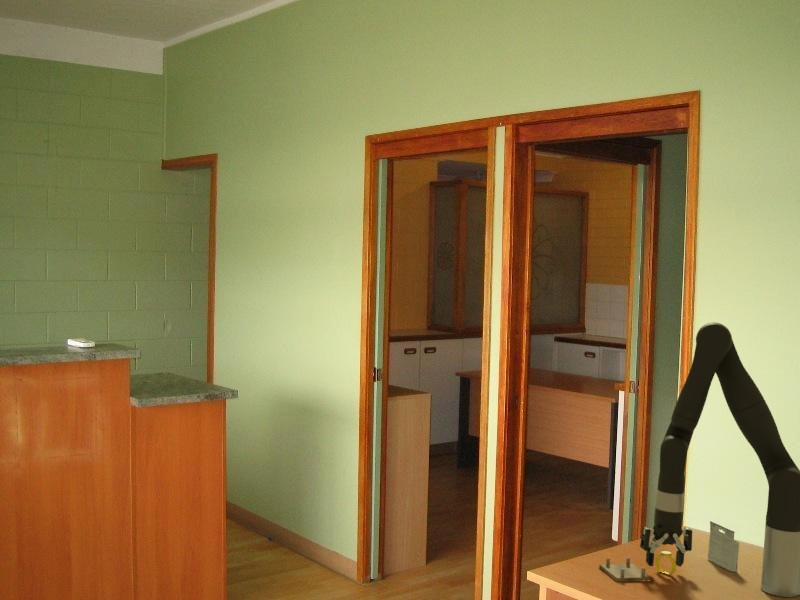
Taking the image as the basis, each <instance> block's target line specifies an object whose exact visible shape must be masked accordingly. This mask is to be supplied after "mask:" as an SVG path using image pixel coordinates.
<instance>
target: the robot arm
mask: <svg viewBox="0 0 800 600" xmlns="http://www.w3.org/2000/svg"><path fill="white" fill-rule="evenodd" d="M694 349H695V350H694V353H693V354H694V355H693V359H692V362H691V366H690V370H689V372H688V374H687V377H686V379H685V382H684V384H683V386H682V388H681V391H680V393H679V396H678V398H677V400H676V403H675V406H674V409H673V412H672V415H671V418H670V423H669V425H668V427H667V429H666V432H665V435H664V437H663V440H662V442H661V444H660V449H659V450H660V451H659V473H658V479H657V480H658V482H657V491H656V495H655V503H654V504H655V506H654V517H653V527H652V528H650V527H646V526H643V527H642V529H641V537H640V544H639V546H640V547H639V548H641V549H642V550H643V551H645V552H646V555H645V562H646V563H647V566H649V567H654V560H655V551H656V550H657V549H658V548H660V547H661V546H663V545H664V546H666V545H671V546H673V545H674V546H675V547H676V549H677V551H676V553H675V561H676V567H682V566H683V565H684V563H685V553H686V552H691V551H692V550H693V549H692V548H693V530H692V529H690V528H689V527H687V526H685V527H684V528H682V526H683V523H684V522H683V520H684V519H683V518H684V509H685V488H686V487H685V484H686V474H685V472H686V470H685V469H686V462H687V455H688V451H689V448H690V444H691V441H692V438H693V434H694V432H695V429H696V428H697V426H698V423H699V420H700V419H701V416H702V413H703V410H704V407H705V404H706V401H707V398H708V396H709V395H708V394H709V391H710V389H711V388H710V387H711V385H712V382H713V380H714V378H715V377H714V376H715V374H716V376H717V378H718V381H719V384H720V387H721V390H722V393H723V396H724V399H725V401H726V404H727V406H728V409H729V411H730V413H731V415H732V417H733V420H734V421H735V422H736V425H737V427H738V429H739V431H740V432H741V433H742V435H743V436H744V438H745V440H746V441H747V442H748V443H749V445H750V446H751V448H752V449H753V451H754V452H755V453H756V454H755V455H757V457H758V459H759V462H760V464H761V466H762V469H763V472H764V474H765V477H766V480H767V485H768V495H767V508H766V509H767V510H766V513H765V514H766V515H765V524H764V525H765V526H764V543H763V555H762V566H761V567H762V569H761V583H760V589H761V590H762V591H763V592H765V593H767V594H770V595H772V596H777V597H782V598H783V597H784V598H794V597H797V596H800V469H799V467H798V466H797V464H796V463H795V461H794V460H793V458H792V457H791V455H790V454H789V452H788V451H787V449H786V447H785V444H784V443H783V441H782V437H781V435H780V432H779V430H778V426H777V424H776V420H775V418H774V417H773V414H772V412H771V410H770V408H769V406H768V404H767V401H766V399H765V398H764V396H763V394H762V392H761V391H760V389H759V387H758V386H757V385H756V383H755V381H754V380H753V379H752V376H750V374H749V372H748V371H747V370H746V368H745V366H744V365H743V362H742V361H741V359H740V356H739V353H738V351H737V349H736V346H735V343H734V341H733V336H732V334H731V331H730V329H729V328H728V327H727V326H725V325H724V324H722V323H719V322H713V321H712V322H707V323H705V324H704V325H702V326H701V327H700V328H699V330H698V331H697V333H696V336H695V348H694ZM652 534H653V536H652ZM681 536H683V543H682V541H681V540H680V537H681ZM651 537H652V538H651Z"/></svg>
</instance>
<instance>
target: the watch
mask: <svg viewBox="0 0 800 600" xmlns="http://www.w3.org/2000/svg"><path fill="white" fill-rule="evenodd" d="M662 556H664V557H668V559H670V561H671V570H670V572H667V571H664V569H663V568H662V567H661V563H660V559H661V557H662ZM655 566H656V569H657V572H659V573H660V572H662V571H664V572H662V573H661V574H663V573H665V574H664V575H666V574H667V575H666V576H672V575H674V573H675V572H676V569H677V565H676V558H674V556H673V555H672V552H671V551H668V550H666V551H665V550H662V551H660V553H658V554H657V555H656V557H655Z"/></svg>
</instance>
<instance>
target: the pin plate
mask: <svg viewBox="0 0 800 600" xmlns="http://www.w3.org/2000/svg"><path fill="white" fill-rule="evenodd" d="M605 561H606V562H605V564H604V563H602V564H599V567H598V568H599V569H600V570H601V571H602V572H604V573H605V574H606V575H608V576H609V577H610V578H612V579H613V580H614V581H615V582H616V583H619V582H644V581H643V580H651V581H652V580H653V579H652V577H651V576H650V575H649V574H648V573H646V568H645V567H644V568H641V569H640V568H639V567H638V566H636V565H635V564H634V563H631V557H626V560H625V563H619V564H618V563H617V564H616V563H615V564H614V563H613V564H611V558H610V557H606V560H605Z"/></svg>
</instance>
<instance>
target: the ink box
mask: <svg viewBox="0 0 800 600" xmlns="http://www.w3.org/2000/svg"><path fill="white" fill-rule="evenodd" d="M721 530H722V532H721ZM708 539H709V540H708V541H709V542H708V549H707V550H708V553H707V561H709V562H711V563H713V564H715V565H718V566H719V567H722V568H723V569H725V570H727V571H729V572H731V573H737V572H738V567H739V566H738V564H739V563H738V562H739V552H740V542H739V541H738V540H735V531H734V530H731V529H729V528H726V527H724V526H722V525H720V524H718V523H715V522H713V521H712V520H711V521H709V538H708Z"/></svg>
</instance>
